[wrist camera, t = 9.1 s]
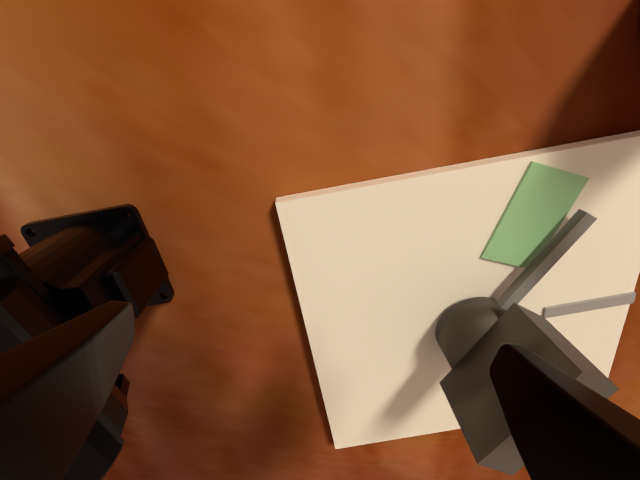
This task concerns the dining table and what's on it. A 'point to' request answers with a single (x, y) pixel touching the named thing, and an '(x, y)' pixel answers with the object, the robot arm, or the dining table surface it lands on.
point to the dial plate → (455, 271)
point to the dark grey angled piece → (484, 341)
